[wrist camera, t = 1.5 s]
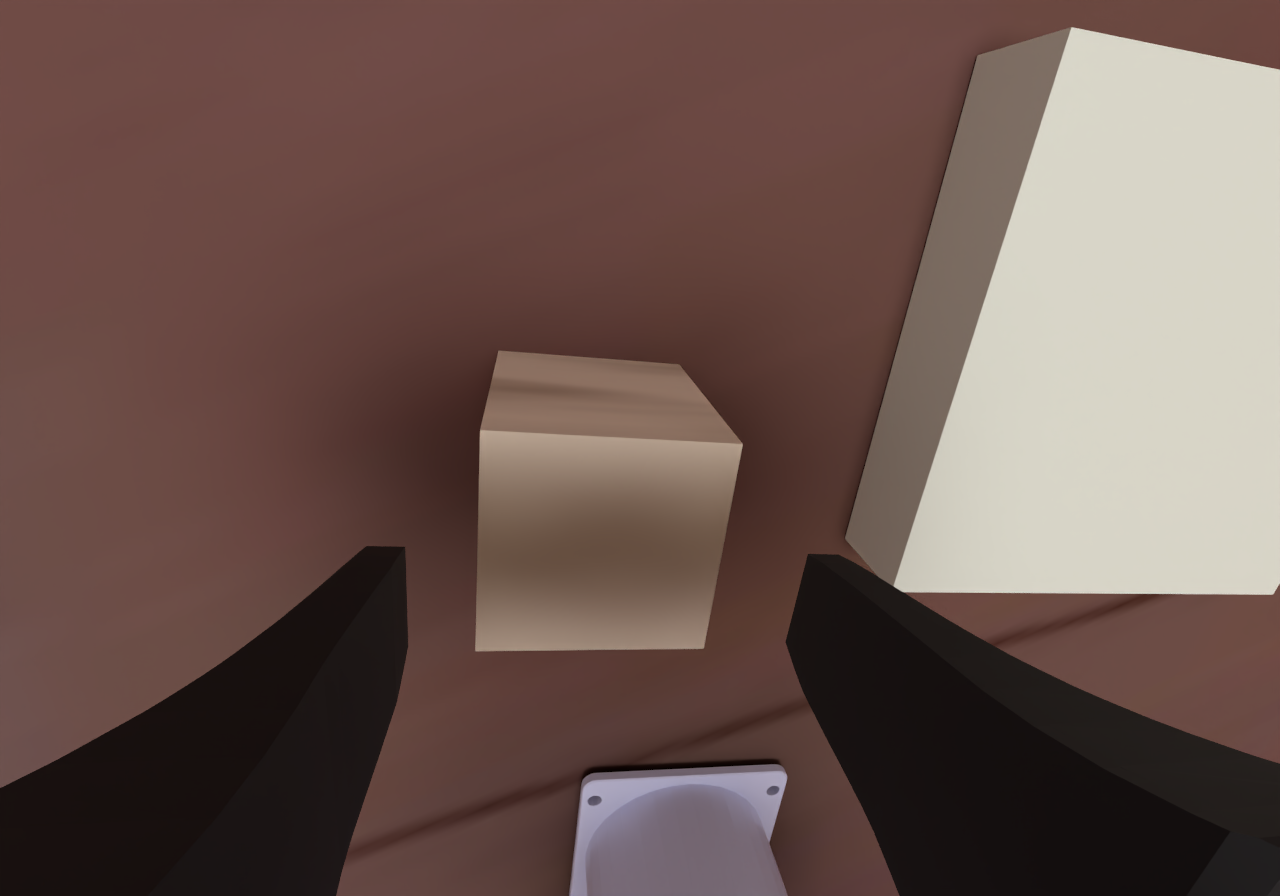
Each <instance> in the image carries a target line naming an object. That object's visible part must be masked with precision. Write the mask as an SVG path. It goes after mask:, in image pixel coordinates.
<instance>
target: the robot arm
mask: <svg viewBox="0 0 1280 896" xmlns="http://www.w3.org/2000/svg"><path fill="white" fill-rule="evenodd" d="M786 644H787V647H788V650H789V653H790V656H791V659H792V662H793V665H794V669H795V671H796V674H797V677H798V679H799V682H800V685H801V687H802V690H803V692H804V694H805V696H806V698H807V701H808V703H809V705H810V707H811V709H812V711H813V712H814V714H815V716H816V718H817V720H818V722H819V724H820V726H821V728H822V730H823V732H824V734H825V736H826V738H827V740H828V742H829V744H830V746H831V748H832V749H833V751H834V753H835V755H836V757H837V759H838V761H839V763H840V765H841V767H842V769H843V771H844V773H845V774H846V776H847V778H848V780H849V782H850V784H851V786H852V788H853V790H854V792H855V794H856V796H857V798H858V800H859V801H860V803H861V805H862V807H863V810H864V812H865V814H866V816H867V818H868V820H869V822H870V824H871V827H872V829H873V831H874V833H875V836H876V838H877V841H878V843H879V846H880V848H881V850H882V853H883V855H884V858H885V860H886V863H887V865H888V868H889V870H890V873H891V875H892V878H893V880H894V883H895V885H896V888H897V890H898V893H899V895H900V896H1280V764H1279V763H1276V762H1272V761H1269V760H1266V759H1262V758H1259V757H1256V756H1253V755H1250V754H1247V753H1244V752H1241V751H1238V750H1235V749H1232V748H1230V747H1227V746H1224V745H1221V744H1218V743H1215V742H1212V741H1209V740H1207V739H1204V738H1201V737H1198V736H1195V735H1192V734H1189V733H1187V732H1184V731H1181V730H1179V729H1176V728H1173V727H1171V726H1168V725H1165V724H1163V723H1160V722H1158V721H1155V720H1152V719H1150V718H1147V717H1145V716H1142V715H1140V714H1138V713H1135V712H1133V711H1130V710H1128V709H1126V708H1123V707H1121V706H1118V705H1116V704H1113V703H1111V702H1109V701H1106V700H1104V699H1101V698H1099V697H1097V696H1094V695H1092V694H1090V693H1088V692H1085V691H1083V690H1081V689H1079V688H1076V687H1074V686H1072V685H1070V684H1068V683H1066V682H1064V681H1062V680H1060V679H1057V678H1055V677H1053V676H1051V675H1049V674H1047V673H1045V672H1043V671H1041V670H1039V669H1037V668H1035V667H1033V666H1031V665H1029V664H1027V663H1025V662H1023V661H1021V660H1019V659H1017V658H1015V657H1013V656H1011V655H1009V654H1007V653H1005V652H1004V651H1002V650H1000V649H998V648H996V647H995V646H993V645H991V644H989V643H987V642H986V641H984V640H982V639H980V638H978V637H977V636H975V635H973V634H971V633H970V632H968V631H966V630H964V629H963V628H961V627H959V626H958V625H956V624H954V623H952V622H951V621H949V620H947V619H946V618H944V617H942V616H941V615H939V614H937V613H936V612H934V611H932V610H931V609H929V608H928V607H926V606H924V605H923V604H921V603H919V602H918V601H916V600H915V599H913V598H911V597H910V596H908V595H907V594H905V593H903V592H902V591H900V590H899V589H897V588H895V587H894V586H892V585H890V584H889V583H887V582H886V581H884V580H882V579H881V578H879V577H878V576H876V575H874V574H873V573H871V572H869V571H868V570H866V569H864V568H863V567H861V566H859V565H857V564H856V563H854V562H852V561H850V560H848V559H846V558H844V557H842V556H840V555H828V554H808V556H807V560H806V564H805V568H804V572H803V576H802V580H801V584H800V588H799V592H798V596H797V600H796V604H795V608H794V612H793V615H792V619H791V623H790V627H789V631H788V635H787V639H786ZM407 649H408V627H407V594H406V560H405V547H380V546H366V547H365V548H364V549H363V550H361V551H360V552H359V553H358V554H357V555H355V556H354V557H353V558H352V559H350V560H349V561H348V562H347V563H346V564H345V565H344V566H342V567H341V568H340V569H339V570H338V571H337V572H336V573H334V574H333V575H332V576H331V577H330V578H329V579H328V580H326V581H325V582H324V583H323V584H322V585H321V586H319V587H318V588H317V589H316V590H315V591H314V592H312V593H311V594H310V595H309V596H308V597H306V598H305V599H304V600H303V601H302V602H300V603H299V604H298V605H297V606H296V607H294V608H293V609H292V610H291V611H289V612H288V613H287V614H286V615H285V616H283V617H282V618H281V619H280V620H278V621H277V622H276V623H275V624H273V625H272V626H271V627H269V628H268V629H267V630H265V631H264V632H263V633H261V634H260V635H259V636H257V637H256V638H255V639H253V640H252V641H251V642H249V643H248V644H247V645H245V646H244V647H243V648H241V649H240V650H239V651H237V652H236V653H235V654H233V655H232V656H230V657H229V658H228V659H226V660H225V661H223V662H222V663H220V664H219V665H217V666H216V667H214V668H213V669H211V670H210V671H209V672H207V673H206V674H204V675H203V676H201V677H200V678H198V679H196V680H195V681H193V682H192V683H190V684H188V685H187V686H185V687H184V688H182V689H181V690H179V691H177V692H176V693H174V694H173V695H171V696H169V697H168V698H166V699H165V700H163V701H161V702H160V703H158V704H156V705H155V706H153V707H151V708H150V709H148V710H146V711H145V712H143V713H141V714H139V715H138V716H136V717H134V718H132V719H130V720H129V721H127V722H125V723H123V724H121V725H120V726H118V727H116V728H114V729H112V730H110V731H109V732H107V733H105V734H103V735H101V736H100V737H98V738H96V739H94V740H92V741H91V742H89V743H87V744H85V745H83V746H82V747H80V748H78V749H76V750H74V751H72V752H71V753H69V754H67V755H65V756H63V757H62V758H60V759H58V760H56V761H54V762H52V763H50V764H48V765H46V766H44V767H42V768H40V769H38V770H36V771H34V772H32V773H30V774H28V775H26V776H24V777H22V778H20V779H18V780H16V781H14V782H12V783H10V784H8V785H6V786H4V787H2V788H0V896H336V894H337V889H338V885H339V881H340V877H341V872H342V869H343V865H344V862H345V858H346V855H347V852H348V848H349V845H350V841H351V838H352V835H353V832H354V829H355V826H356V823H357V820H358V817H359V814H360V811H361V808H362V805H363V802H364V799H365V796H366V793H367V790H368V787H369V784H370V781H371V778H372V775H373V772H374V769H375V766H376V763H377V760H378V757H379V754H380V751H381V748H382V745H383V742H384V739H385V736H386V733H387V730H388V727H389V724H390V721H391V718H392V715H393V712H394V709H395V706H396V703H397V698H398V694H399V689H400V684H401V679H402V674H403V669H404V664H405V659H406V654H407ZM786 782H787V775H786V772H785V770H784V768H783V767H782V766H781V765H777V764H767V765H746V766H726V767H705V768H684V769H664V770H643V771H622V772H602V773H592V774H590V775H588V776H586V777H585V778H584V779H583V781H582V784H581V792H580V801H579V810H578V819H577V828H576V837H575V846H574V855H573V864H572V873H571V882H570V891H569V896H788V895H787V892H786V889H785V886H784V884H783V881H782V878H781V875H780V872H779V870H778V867H777V864H776V861H775V858H774V855H773V853H772V850H771V847H770V844H769V842H770V839H771V835H772V831H773V828H774V824H775V821H776V817H777V814H778V810H779V807H780V803H781V799H782V796H783V792H784V789H785V785H786Z"/></svg>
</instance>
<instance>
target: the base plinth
mask: <svg viewBox="0 0 1280 896" xmlns="http://www.w3.org/2000/svg"><path fill="white" fill-rule="evenodd" d="M845 539H846V541H847V542H848V543H849V544H850V545H851V546H852V547H853V548H854V550H855V551H856V552H857V553H858V554H859V555H860V556H861V558H862V559H863V560H864V561H865V562H866V563H867V564H868V566H869V567H870V568H871V569H872V570H873V571H874V572H875V574H876V575H877V576H878V577H879V578H881V579H882V580H884V581H886V582H887V583H889V584H890V585H892V586H894V587H895V588H897V589H899V590H900V591H902V592H965V593H1118V594H1271V595H1273V594H1274V592H1275V590H1276V589H1277V587H1278V585H1279V584H1280V70H1278V69H1273V68H1268V67H1263V66H1258V65H1253V64H1248V63H1243V62H1239V61H1234V60H1229V59H1224V58H1219V57H1214V56H1209V55H1204V54H1200V53H1195V52H1190V51H1185V50H1180V49H1175V48H1170V47H1165V46H1161V45H1156V44H1151V43H1146V42H1141V41H1136V40H1131V39H1126V38H1121V37H1117V36H1112V35H1107V34H1102V33H1097V32H1092V31H1087V30H1082V29H1078V28H1073V27H1071V28H1067V29H1064V30H1061V31H1057V32H1054V33H1051V34H1047V35H1044V36H1041V37H1037V38H1034V39H1030V40H1027V41H1024V42H1020V43H1017V44H1014V45H1010V46H1007V47H1004V48H1000V49H997V50H994V51H990V52H987V53H983V54H980V55H977V59H976V63H975V66H974V70H973V74H972V77H971V81H970V84H969V88H968V92H967V95H966V99H965V103H964V106H963V110H962V114H961V117H960V121H959V125H958V128H957V132H956V135H955V139H954V143H953V146H952V150H951V154H950V157H949V161H948V165H947V168H946V172H945V176H944V179H943V183H942V186H941V190H940V194H939V197H938V201H937V205H936V208H935V212H934V216H933V219H932V223H931V227H930V230H929V234H928V237H927V241H926V245H925V248H924V252H923V256H922V259H921V263H920V267H919V270H918V274H917V278H916V281H915V285H914V288H913V292H912V296H911V299H910V303H909V307H908V310H907V314H906V318H905V321H904V325H903V329H902V332H901V336H900V339H899V343H898V347H897V350H896V354H895V358H894V361H893V365H892V369H891V372H890V376H889V380H888V383H887V387H886V390H885V394H884V398H883V401H882V405H881V409H880V412H879V416H878V420H877V423H876V427H875V431H874V434H873V438H872V441H871V445H870V449H869V452H868V456H867V460H866V463H865V467H864V471H863V474H862V478H861V482H860V485H859V489H858V492H857V496H856V500H855V503H854V507H853V511H852V514H851V518H850V522H849V525H848V529H847V533H846V536H845Z"/></svg>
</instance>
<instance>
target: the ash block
mask: <svg viewBox="0 0 1280 896" xmlns="http://www.w3.org/2000/svg"><path fill="white" fill-rule="evenodd" d="M742 446H743V444H742V442H741V441H740V440H739V439H738V437H737V436H736V435H735V434H734V432H733V431H732V430H731V429H730V427H729V426H728V425H727V424H726V422H725V421H724V420H723V419H722V417H721V416H720V415H719V414H718V412H717V411H716V410H715V409H714V407H713V406H712V405H711V404H710V402H709V401H708V400H707V399H706V397H705V396H704V395H703V393H702V392H701V391H700V390H699V388H698V387H697V386H696V385H695V383H694V382H693V381H692V380H691V378H690V377H689V376H688V375H687V373H686V372H685V371H684V370H683V368H682V367H681V366H680V365H679V364H668V363H655V362H642V361H629V360H616V359H603V358H590V357H576V356H563V355H550V354H537V353H524V352H511V351H498V355H497V360H496V364H495V368H494V373H493V377H492V381H491V385H490V390H489V394H488V398H487V403H486V407H485V411H484V415H483V420H482V424H481V428H480V456H479V503H478V550H477V597H476V644H475V651H542V650H632V649H704V644H705V639H706V634H707V629H708V623H709V618H710V613H711V608H712V602H713V597H714V592H715V587H716V582H717V576H718V571H719V566H720V561H721V556H722V550H723V545H724V540H725V535H726V530H727V524H728V519H729V514H730V509H731V504H732V498H733V493H734V488H735V483H736V477H737V472H738V467H739V462H740V457H741V451H742Z"/></svg>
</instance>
